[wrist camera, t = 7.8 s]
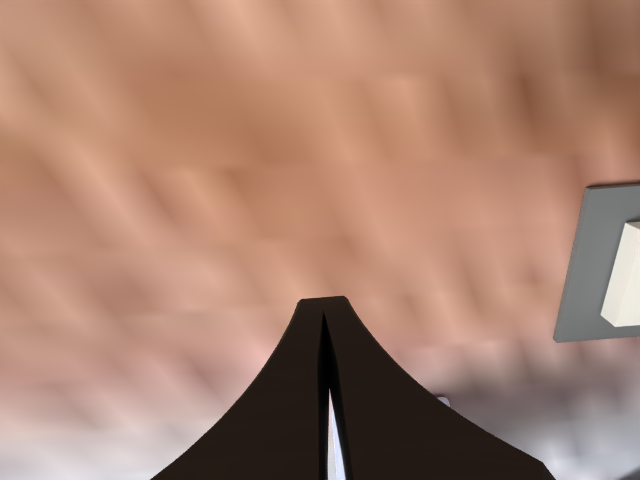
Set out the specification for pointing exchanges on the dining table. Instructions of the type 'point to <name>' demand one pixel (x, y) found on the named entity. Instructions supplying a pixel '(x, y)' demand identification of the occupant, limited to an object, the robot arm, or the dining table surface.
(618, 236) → the mat
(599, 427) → the dining table surface
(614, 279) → the tile
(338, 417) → the robot arm
